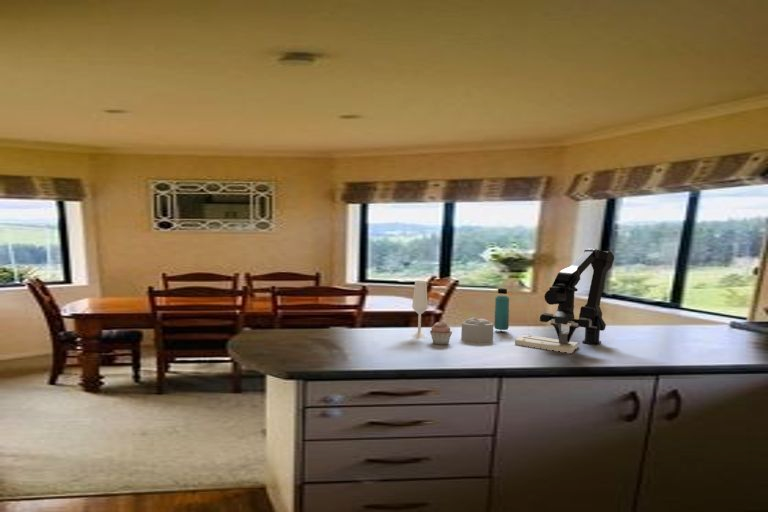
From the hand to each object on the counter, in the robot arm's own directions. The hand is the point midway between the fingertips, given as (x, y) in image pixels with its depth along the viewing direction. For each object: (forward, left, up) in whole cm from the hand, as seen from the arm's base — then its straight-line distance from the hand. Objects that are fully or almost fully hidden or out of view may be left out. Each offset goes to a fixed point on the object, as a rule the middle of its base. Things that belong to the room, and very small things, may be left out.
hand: (564, 341), depth 189 cm
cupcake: (+24, -43, -3) cm, 49 cm away
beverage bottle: (-13, -31, -3) cm, 34 cm away
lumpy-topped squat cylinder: (+8, -34, -3) cm, 35 cm away
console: (0, -7, -3) cm, 8 cm away
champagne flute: (+19, -56, -3) cm, 59 cm away
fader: (0, 0, -1) cm, 1 cm away
